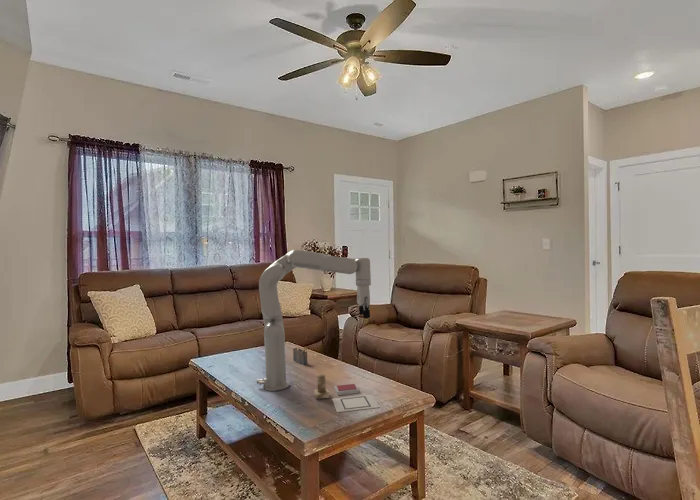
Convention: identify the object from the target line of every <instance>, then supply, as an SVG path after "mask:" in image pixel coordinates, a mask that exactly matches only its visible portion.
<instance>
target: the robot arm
mask: <svg viewBox="0 0 700 500" xmlns="http://www.w3.org/2000/svg"><path fill="white" fill-rule="evenodd" d="M296 268H298V269H299V268H300V269H308V270H313V271H314V270H315V271H321V272H331V273H339V274H345V275H352V274H355V286H357V287H356V303H357V304H358V314H359V315H360V316H361V315H363V317H362V318H364V319H370V318H371V310H370V309H371V308H370V304H371V294H370V293H371V292H370V286H372V278H371V277H372V275H371V274H372V273H371V259H370V258H369V257H357V258H350V257H341V256H340V257H339V256H335V255H334V256H333V255H328V254H325V253H322V252H313V251H307V250H302V249H291V250H289V252H287V253H286V254H285V255H283V256H281V257H280V258H279V259H277V260H275V261H274V262H273V263H271V264H269V266H268V267H267V268H266V269H265V270H264V271H263V272H262V273H261V275H260V277H259V280H258V289H259V290H258V291H259V299H260V300H259V301H260V307H261V308H260V312H261V314H262V319H263V325H264V330H263V340H264V356H265V361H264V363H265V377H264V378H262V379H261V378H260V379H256V384H257V385H262V388H263V390H266V391H268V392H269V391H270V392H279V391H282V390H285V389H287V388H289V387H290V381H288V380H287V372H286V371H287V369H286V368H287V367H286V345H285V344H286V341H285V338H286V336H285V335H286V334H285V326H284V320H283V313H282V306H281V303H280V301H279V294H278V283H279V281H281V280H282V279H284V277H285V275H287V274H289V273H290V272H291V271H293V270H294V269H296Z"/></svg>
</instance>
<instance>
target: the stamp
mask: <svg viewBox="0 0 700 500" xmlns="http://www.w3.org/2000/svg"><path fill="white" fill-rule="evenodd" d="M316 379H317V380H316V381H317V382H316V383H317V389H314V396H315V400H316V401H320V400H328V399H329V400H330V391H329V389H328V388H327V387H326V386H327V385H326V375H325V374H318V375H317V376H316Z"/></svg>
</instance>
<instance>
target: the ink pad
mask: <svg viewBox="0 0 700 500" xmlns="http://www.w3.org/2000/svg"><path fill="white" fill-rule="evenodd" d="M334 391H335V393H336V396H343V395H344V396H345V395H351V394H352V395H353V394H359V393H360V389H359V388H358V385H357V384H356V383H348V384H339V385H334Z"/></svg>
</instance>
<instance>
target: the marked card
mask: <svg viewBox="0 0 700 500" xmlns="http://www.w3.org/2000/svg"><path fill="white" fill-rule="evenodd" d="M331 400H332V403H333V406H334V408H335V410H336V413H338V414H339V413H344V412H345V413H346V412H353V411H363V410H370V409H371V410H372V409H379V408H380V405H379V404H378V402H377V401H376V399H375V397H374V396H373V393H372V394H364V395H363V394H362V395H353V396H345V397H335V398H331Z"/></svg>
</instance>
